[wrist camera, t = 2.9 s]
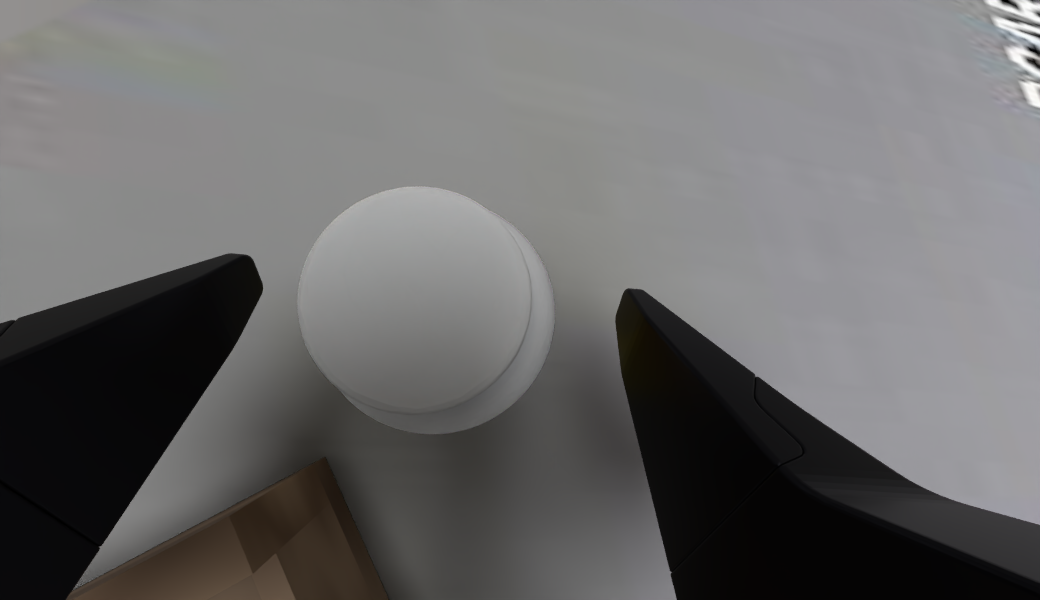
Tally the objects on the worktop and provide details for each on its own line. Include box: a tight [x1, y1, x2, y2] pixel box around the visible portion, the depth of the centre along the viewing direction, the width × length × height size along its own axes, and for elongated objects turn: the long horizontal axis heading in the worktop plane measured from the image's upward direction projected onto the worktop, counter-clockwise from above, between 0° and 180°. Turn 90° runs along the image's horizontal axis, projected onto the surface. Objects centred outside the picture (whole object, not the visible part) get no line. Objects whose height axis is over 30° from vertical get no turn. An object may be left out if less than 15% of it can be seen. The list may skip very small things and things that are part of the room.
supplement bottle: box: [297, 186, 555, 434], centre depth 11 cm, size 6×6×10 cm
